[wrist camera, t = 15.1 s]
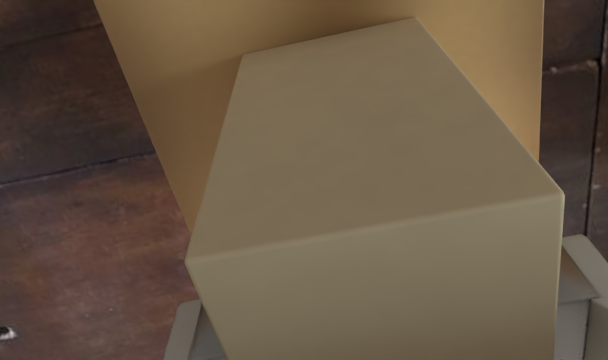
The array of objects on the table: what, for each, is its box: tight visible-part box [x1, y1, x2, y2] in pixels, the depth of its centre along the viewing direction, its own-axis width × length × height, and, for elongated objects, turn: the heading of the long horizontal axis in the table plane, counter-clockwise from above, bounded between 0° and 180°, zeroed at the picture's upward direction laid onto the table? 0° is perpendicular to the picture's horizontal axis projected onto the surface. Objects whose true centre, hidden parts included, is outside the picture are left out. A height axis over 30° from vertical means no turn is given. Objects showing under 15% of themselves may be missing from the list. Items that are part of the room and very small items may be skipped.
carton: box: [185, 17, 565, 360], centre depth 12 cm, size 5×7×9 cm
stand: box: [93, 0, 544, 236], centre depth 24 cm, size 12×12×20 cm
